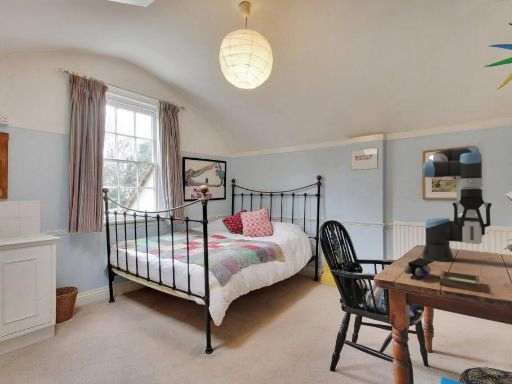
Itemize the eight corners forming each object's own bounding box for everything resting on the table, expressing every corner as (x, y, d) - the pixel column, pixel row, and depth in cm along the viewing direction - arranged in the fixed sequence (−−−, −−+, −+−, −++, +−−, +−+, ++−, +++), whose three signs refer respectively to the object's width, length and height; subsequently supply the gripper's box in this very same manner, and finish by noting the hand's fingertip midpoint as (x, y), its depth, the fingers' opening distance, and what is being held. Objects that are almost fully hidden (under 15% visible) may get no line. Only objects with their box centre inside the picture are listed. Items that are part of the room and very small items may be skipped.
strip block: (464, 241, 123) (464, 219, 123) (479, 242, 120) (478, 220, 120) (464, 243, 119) (464, 220, 119) (479, 244, 116) (479, 221, 116)
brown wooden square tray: (441, 277, 125) (441, 271, 125) (478, 283, 117) (478, 276, 117) (439, 285, 114) (439, 278, 114) (480, 292, 107) (480, 284, 107)
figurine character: (420, 284, 120) (434, 274, 129) (419, 268, 119) (433, 258, 128) (404, 281, 125) (419, 271, 134) (403, 264, 125) (418, 256, 134)
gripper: (445, 188, 122) (446, 241, 122) (499, 187, 112) (500, 245, 111) (446, 188, 128) (446, 238, 128) (497, 188, 118) (498, 242, 117)
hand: (471, 241), depth 120 cm, fingers closed on strip block, 5 cm apart
